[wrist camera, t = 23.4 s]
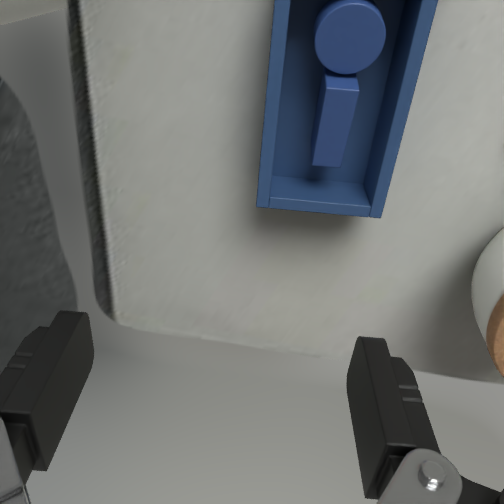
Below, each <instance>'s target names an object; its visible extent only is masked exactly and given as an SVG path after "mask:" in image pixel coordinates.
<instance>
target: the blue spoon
mask: <svg viewBox="0 0 504 504" xmlns="http://www.w3.org/2000/svg"><path fill="white" fill-rule="evenodd" d="M385 39H386V29H385V24H384V21H383V18H382V15H381V12H380V9H379V8H378V6H377V5H376V3H375V2H374V1H373V0H330V1H328V2H327V3H326V4H325V5H324V6H323V8H322V9H321V10H320V12H319V13H318V15H317V18H316V20H315V24H314V47H315V52H316V55H317V57H318V59H319V61H320V62H321V63H322V65H323V66H324V69H323V75H322V80H321V86H320V91H319V97H318V103H317V108H316V114H315V120H314V125H313V131H312V136H311V163H312V165H313V166H324V167H335V168H340V167H341V165H342V161H343V157H344V153H345V149H346V145H347V140H348V136H349V132H350V128H351V124H352V120H353V116H354V112H355V108H356V104H357V100H358V96H359V92H360V91H359V85H358V80H357V75H356V73H357V72H360V71H362V70H364V69H366V68H367V67H369V66H370V65H371V64H372V63H373V62H374V61H375V60H376V59H377V58H378V56H379V55H380V53H381V51H382V49H383V47H384V44H385Z"/></svg>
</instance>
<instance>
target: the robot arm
mask: <svg viewBox="0 0 504 504" xmlns="http://www.w3.org/2000/svg"><path fill="white" fill-rule="evenodd" d="M93 359H94V347H93V340H92V334H91V327H90V320H89V316H88V314H87V313H86V312H74V311H63V310H61V311H59V312H58V313H57V315H56V316H55V318H54V320H53V321H52V323H51V325H50V326H49V327H40V326H39V327H38V328H37V329H36V330H34V331H33V332H32V333H30V334H29V335H28V336H27V337H25V338H24V339H23V341H22V343H21V344H20V346H19V347H18V349H17V350H16V352H15V355H14V356H13V357H12V358H11V360H10V361H9V363H8V364H7V367H5V369H4V370H3V372H2V374H1V375H0V504H31V501H30V498H29V494H28V491H27V488H26V482H27V480H28V478H29V476H30V474H31V472H32V470H37V471H47V469H48V467H49V465H50V462H51V460H52V458H53V456H54V453H55V451H56V449H57V447H58V444H59V442H60V440H61V437H62V435H63V433H64V430H65V428H66V426H67V423H68V421H69V419H70V417H71V414H72V412H73V410H74V407H75V405H76V403H77V401H78V398H79V396H80V394H81V392H82V389H83V387H84V385H85V382H86V380H87V378H88V375H89V373H90V371H91V368H92V364H93ZM347 395H348V401H349V407H350V413H351V419H352V425H353V431H354V436H355V442H356V448H357V454H358V460H359V466H360V471H361V478H362V483H363V489H364V495H365V498H367V499H368V498H369V499H378V502H377V504H504V489H503V491H502V492H498V491H496V490H493V489H490V488H488V487H485V486H483V485H480V484H477V483H475V482H472V481H470V480H468V479H466V478H464V477H463V476H461V475H460V474H459V472H458V471H457V469H456V468H455V466H454V465H453V464H452V463H451V462H450V461H449V460H448V459H447V458H446V457H444V456H443V455H442V454H441V452H440V450H439V447H438V444H437V441H436V438H435V435H434V433H433V430H432V426H431V423H430V420H429V417H428V415H427V412H426V409H425V406H424V403H422V397H421V394H420V391H419V390H418V385H417V382H416V379H415V376H414V373H413V371H412V370H411V369H410V367H409V366H408V365H407V364H406V363H405V361H404V360H403V359H402V358H399V357H390V353H389V350H388V347H387V343H386V341H385V339H383V338H373V337H361V336H359V337H358V338H357V340H356V344H355V347H354V351H353V354H352V358H351V362H350V365H349V369H348V373H347Z"/></svg>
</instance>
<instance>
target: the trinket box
mask: <svg viewBox="0 0 504 504" xmlns="http://www.w3.org/2000/svg"><path fill="white" fill-rule="evenodd" d="M471 297H472V303H473V309H474V314H475V317H476V321H477V324H478V326H479V329H480V331H481V333H482V336H483V338H484V340H485V342H486V344H487V348H488V351H489V354H490V356H491V358H492V360H493V362H494V365H495V366H496V368H497V370H498V371H499V372H500V374H501V375H502V376H503V377H504V228H503V229H501V230H500V231H499V232H498V233H497V234H496V235H495V237H494V238H493V239H492V240H491V241H490V242H489V243H488V244H487V246H486V247H485V249H484V250H483V252H482V253H481V255H480V257H479V259H478V262H477V264H476V266H475V269H474V273H473V277H472V286H471Z"/></svg>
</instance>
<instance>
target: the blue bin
mask: <svg viewBox="0 0 504 504" xmlns="http://www.w3.org/2000/svg"><path fill="white" fill-rule="evenodd" d="M328 1H330V0H275V1H274V12H273V23H272V34H271V45H270V56H269V67H268V78H267V90H266V101H265V112H264V123H263V134H262V145H261V156H260V167H259V178H258V189H257V200H256V207H263V208H268V207H269V208H273V209H284V210H295V211H306V212H317V213H328V214H339V215H350V216H360V217H368V216H369V217H373V218H381V216H382V212H383V208H384V204H385V200H386V197H387V193H388V189H389V185H390V181H391V178H392V174H393V170H394V166H395V162H396V159H397V155H398V151H399V147H400V143H401V140H402V136H403V132H404V128H405V124H406V121H407V117H408V113H409V109H410V105H411V102H412V98H413V94H414V90H415V86H416V83H417V79H418V75H419V71H420V67H421V64H422V60H423V56H424V52H425V48H426V45H427V41H428V37H429V33H430V29H431V25H432V22H433V18H434V14H435V10H436V6H437V3H438V0H373V1H374V2H375V3H376V5H377V6H378V8H379V9H380V12H381V15H382V18H383V21H384V24H385V29H386V39H385V44H384V47H383V49H382V51H381V53H380V55H379V56H378V58H377V59H376V60H375V61H374V62H373V63H372V64H371V65H370V66H369V67H367V68H366V69H364V70H362V71H360V72H357V73H356V75H357V80H358V85H359V91H360V92H359V96H358V100H357V104H356V108H355V112H354V116H353V120H352V124H351V128H350V132H349V136H348V140H347V145H346V149H345V153H344V157H343V161H342V165H341V167H340V168H335V167H324V166H313V165H312V163H311V136H312V131H313V125H314V120H315V114H316V108H317V103H318V97H319V91H320V86H321V80H322V75H323V69H324V66H323V65H322V63H321V62H320V61H319V59H318V57H317V55H316V52H315V47H314V24H315V20H316V18H317V15H318V13H319V12H320V10H321V9H322V8H323V6H324V5H325V4H326V3H327V2H328Z"/></svg>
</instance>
